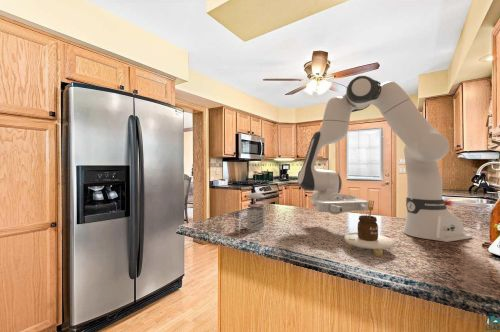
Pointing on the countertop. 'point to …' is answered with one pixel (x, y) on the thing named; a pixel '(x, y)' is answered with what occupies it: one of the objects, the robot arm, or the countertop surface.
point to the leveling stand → (369, 243)
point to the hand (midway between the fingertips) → (352, 209)
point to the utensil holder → (368, 225)
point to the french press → (256, 212)
